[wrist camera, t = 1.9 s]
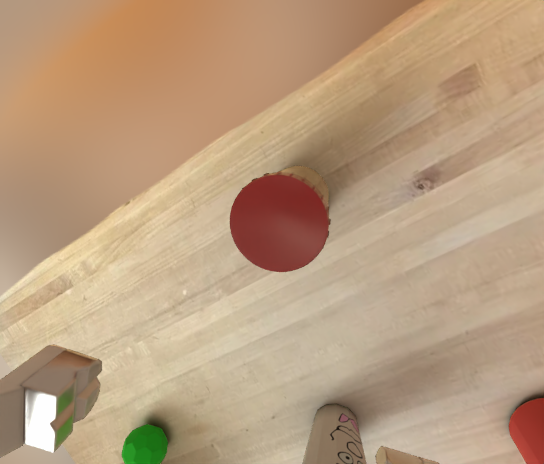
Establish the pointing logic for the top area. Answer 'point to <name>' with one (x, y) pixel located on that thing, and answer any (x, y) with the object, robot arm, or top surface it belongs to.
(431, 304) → the top surface
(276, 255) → the lid
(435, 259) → the top surface
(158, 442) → the polyhedron
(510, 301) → the top surface
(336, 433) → the cup
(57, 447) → the robot arm
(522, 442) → the beer can
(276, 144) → the top surface
